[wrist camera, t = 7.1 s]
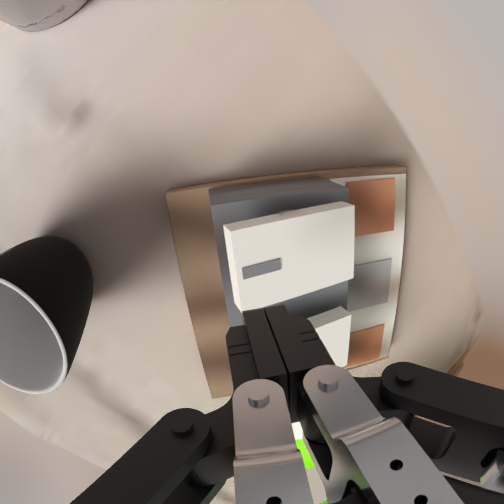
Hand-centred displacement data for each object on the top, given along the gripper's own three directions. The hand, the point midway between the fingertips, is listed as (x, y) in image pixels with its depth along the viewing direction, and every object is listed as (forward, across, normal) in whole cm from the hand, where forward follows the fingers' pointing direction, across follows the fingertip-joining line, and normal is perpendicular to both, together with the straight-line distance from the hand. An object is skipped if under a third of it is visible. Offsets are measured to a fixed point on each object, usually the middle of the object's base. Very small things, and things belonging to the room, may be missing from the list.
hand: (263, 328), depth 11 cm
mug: (+14, +16, +3) cm, 22 cm away
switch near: (+6, -3, 0) cm, 6 cm away
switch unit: (+14, -5, +7) cm, 16 cm away
